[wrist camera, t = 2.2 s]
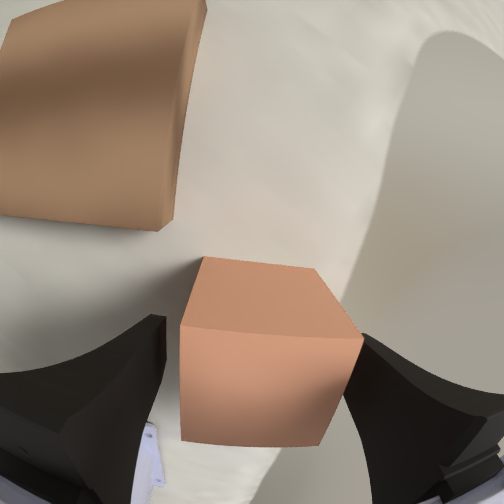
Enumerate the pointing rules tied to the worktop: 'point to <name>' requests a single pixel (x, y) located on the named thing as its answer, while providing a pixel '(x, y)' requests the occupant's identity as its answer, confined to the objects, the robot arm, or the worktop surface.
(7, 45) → the walnut base
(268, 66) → the worktop surface
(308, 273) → the terracotta block
